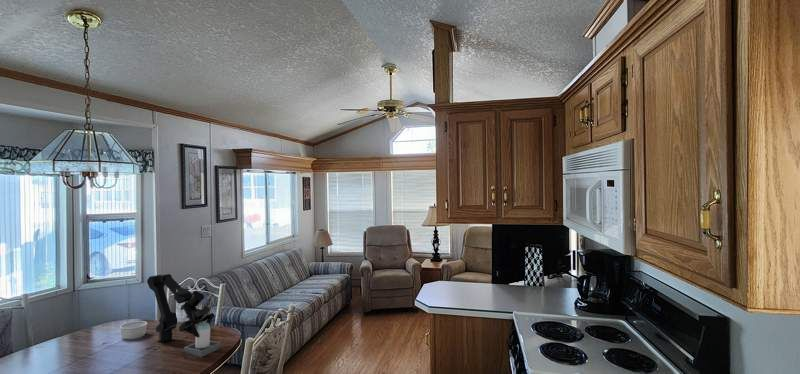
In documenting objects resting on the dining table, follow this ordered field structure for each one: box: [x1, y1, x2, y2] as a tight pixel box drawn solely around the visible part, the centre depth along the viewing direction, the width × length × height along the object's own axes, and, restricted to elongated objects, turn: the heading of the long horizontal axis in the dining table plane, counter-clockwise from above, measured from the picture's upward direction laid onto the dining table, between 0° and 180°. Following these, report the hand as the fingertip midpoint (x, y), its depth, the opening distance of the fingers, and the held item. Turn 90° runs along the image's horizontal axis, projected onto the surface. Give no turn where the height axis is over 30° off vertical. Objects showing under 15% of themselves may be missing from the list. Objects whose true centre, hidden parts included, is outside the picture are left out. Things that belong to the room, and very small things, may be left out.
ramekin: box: [119, 320, 148, 340], centre depth 220 cm, size 13×13×7 cm
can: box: [194, 322, 212, 349], centre depth 203 cm, size 7×7×12 cm
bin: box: [183, 340, 222, 358], centre depth 203 cm, size 13×13×3 cm
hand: (204, 334), depth 202 cm, fingers closed on can, 7 cm apart
